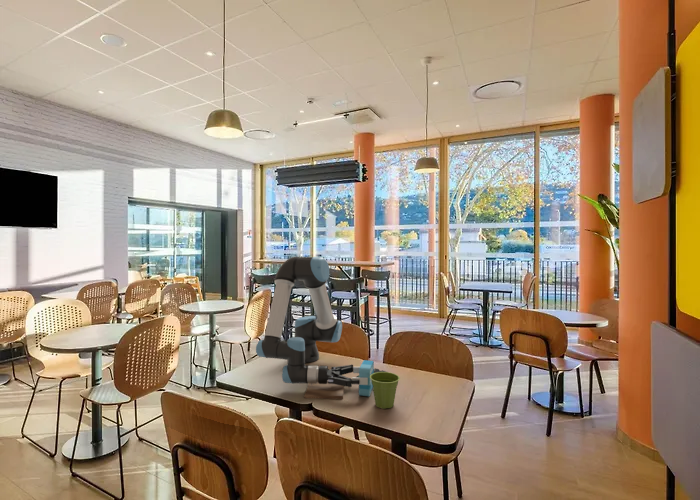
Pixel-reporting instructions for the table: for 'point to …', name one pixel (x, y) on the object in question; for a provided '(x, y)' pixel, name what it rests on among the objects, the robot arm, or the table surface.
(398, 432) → the table surface
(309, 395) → the board
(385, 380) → the plant pot
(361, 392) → the light blue box
